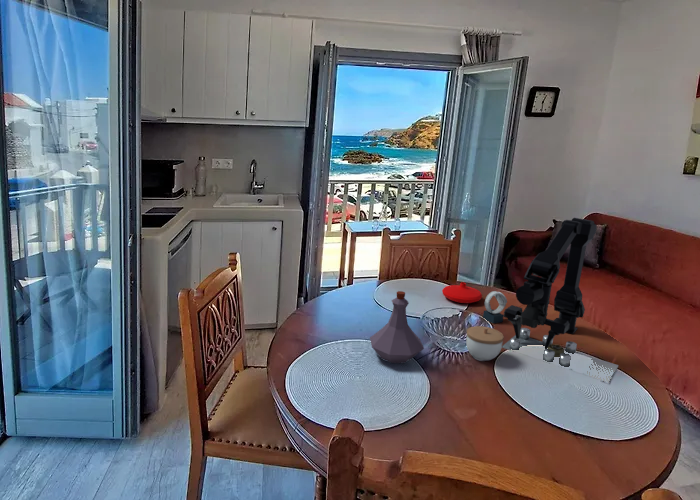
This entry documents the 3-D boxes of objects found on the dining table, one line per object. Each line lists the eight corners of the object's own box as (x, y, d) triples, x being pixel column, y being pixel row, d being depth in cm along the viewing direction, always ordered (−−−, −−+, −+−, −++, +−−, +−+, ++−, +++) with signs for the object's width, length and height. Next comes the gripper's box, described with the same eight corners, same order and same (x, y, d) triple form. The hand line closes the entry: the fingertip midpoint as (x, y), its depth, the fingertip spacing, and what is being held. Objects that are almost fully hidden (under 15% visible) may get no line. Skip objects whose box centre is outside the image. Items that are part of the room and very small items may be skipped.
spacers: (521, 335, 164) (522, 327, 163) (579, 353, 153) (581, 344, 152) (505, 348, 153) (507, 339, 152) (567, 368, 142) (569, 359, 141)
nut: (550, 350, 154) (551, 342, 153) (564, 354, 151) (565, 347, 150) (545, 355, 150) (546, 347, 149) (559, 359, 147) (560, 352, 147)
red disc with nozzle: (441, 304, 189) (443, 287, 188) (441, 291, 204) (442, 275, 203) (483, 309, 187) (485, 291, 185) (479, 295, 202) (481, 279, 200)
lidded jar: (480, 368, 140) (484, 338, 138) (456, 352, 150) (460, 323, 147) (508, 361, 145) (512, 332, 143) (483, 346, 154) (487, 319, 152)
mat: (516, 335, 165) (516, 333, 165) (618, 366, 146) (618, 365, 146) (500, 348, 154) (501, 347, 154) (608, 383, 136) (608, 382, 136)
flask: (427, 350, 150) (434, 288, 144) (416, 374, 134) (423, 307, 129) (376, 340, 155) (381, 280, 149) (360, 362, 139) (365, 296, 134)
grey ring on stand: (506, 322, 175) (511, 293, 172) (488, 325, 172) (493, 295, 169) (496, 316, 180) (500, 288, 177) (478, 319, 177) (482, 290, 174)
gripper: (500, 296, 150) (493, 342, 154) (563, 313, 139) (554, 362, 143) (513, 288, 159) (506, 332, 163) (573, 303, 148) (564, 350, 152)
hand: (531, 344), depth 155 cm, fingers open, 9 cm apart
